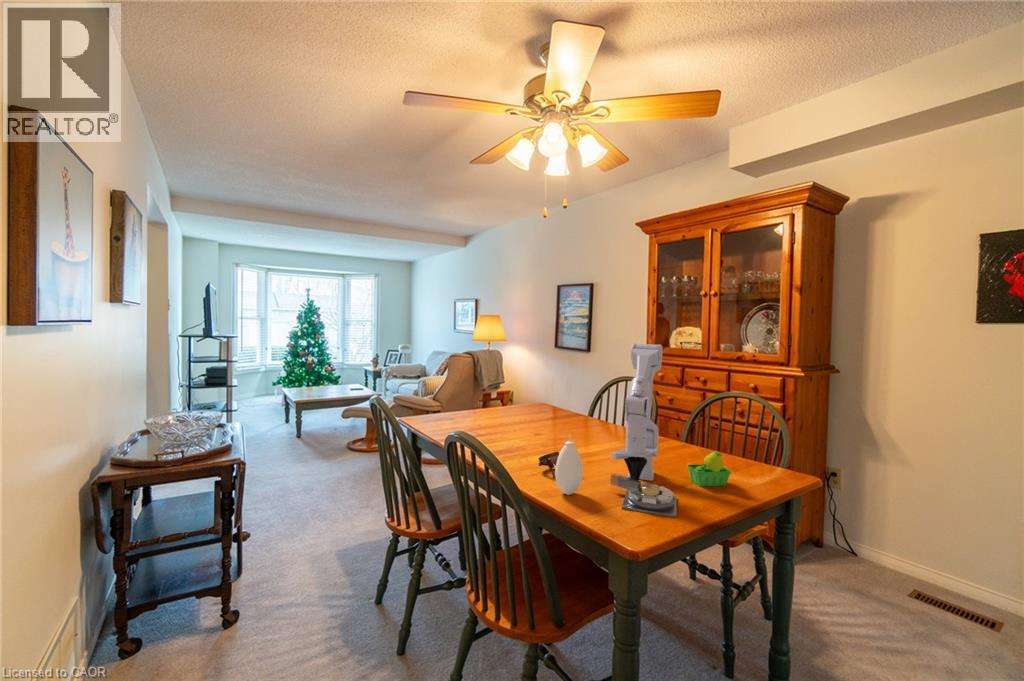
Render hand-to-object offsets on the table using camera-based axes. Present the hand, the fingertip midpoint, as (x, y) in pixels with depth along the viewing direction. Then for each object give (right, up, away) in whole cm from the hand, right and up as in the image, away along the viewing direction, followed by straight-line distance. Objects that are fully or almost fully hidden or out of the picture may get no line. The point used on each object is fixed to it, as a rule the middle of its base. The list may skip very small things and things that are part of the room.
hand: (634, 481), depth 136 cm
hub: (+2, -4, -8) cm, 9 cm away
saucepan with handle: (0, -1, -7) cm, 7 cm away
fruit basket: (+26, -4, +9) cm, 28 cm away
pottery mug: (-22, -3, +16) cm, 27 cm away
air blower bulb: (-20, -3, -2) cm, 20 cm away
